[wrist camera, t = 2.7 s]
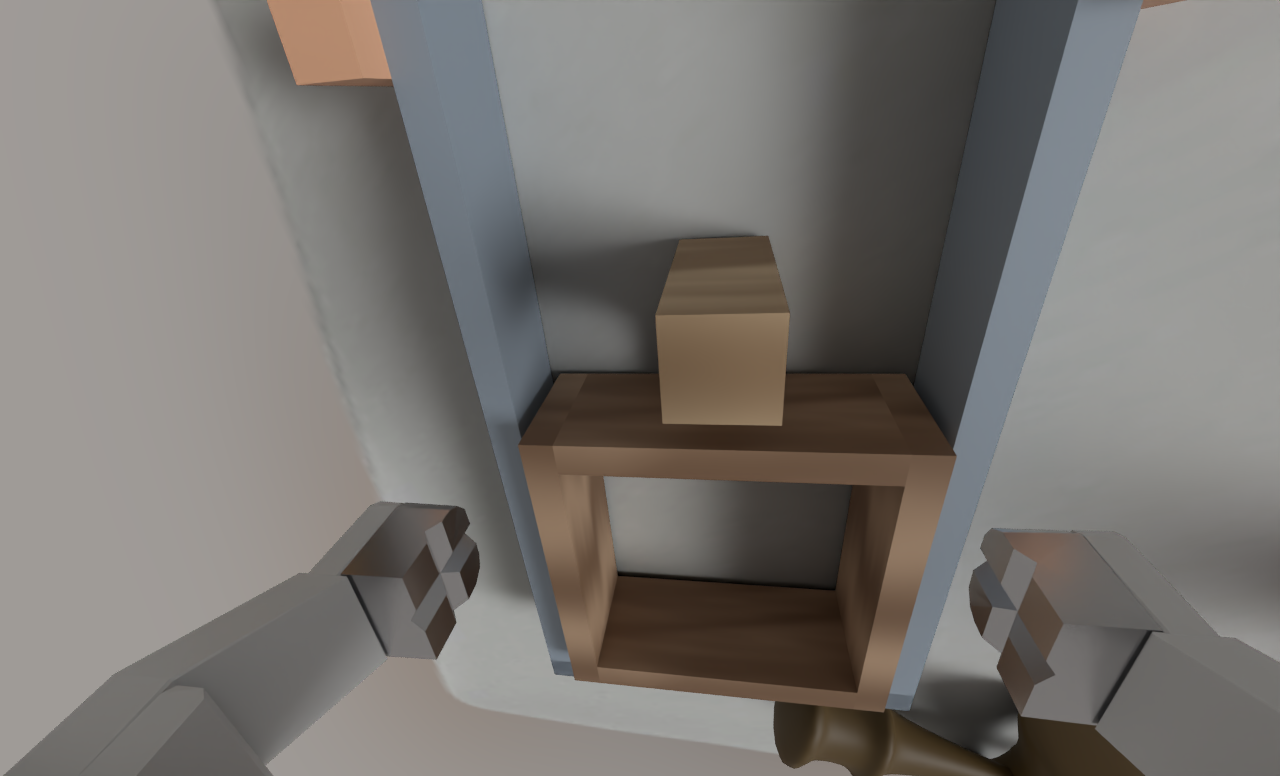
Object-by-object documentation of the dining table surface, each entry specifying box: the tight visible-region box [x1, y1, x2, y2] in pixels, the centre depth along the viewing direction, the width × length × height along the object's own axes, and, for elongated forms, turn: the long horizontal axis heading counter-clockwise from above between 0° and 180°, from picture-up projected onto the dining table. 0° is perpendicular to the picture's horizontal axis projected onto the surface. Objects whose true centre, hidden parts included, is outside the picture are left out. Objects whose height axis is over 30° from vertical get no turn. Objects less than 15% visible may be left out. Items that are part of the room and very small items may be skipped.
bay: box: [267, 0, 1185, 711], centre depth 19 cm, size 28×20×5 cm
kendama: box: [774, 701, 1145, 776], centre depth 27 cm, size 6×10×20 cm
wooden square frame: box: [518, 236, 957, 712], centre depth 19 cm, size 19×13×7 cm
